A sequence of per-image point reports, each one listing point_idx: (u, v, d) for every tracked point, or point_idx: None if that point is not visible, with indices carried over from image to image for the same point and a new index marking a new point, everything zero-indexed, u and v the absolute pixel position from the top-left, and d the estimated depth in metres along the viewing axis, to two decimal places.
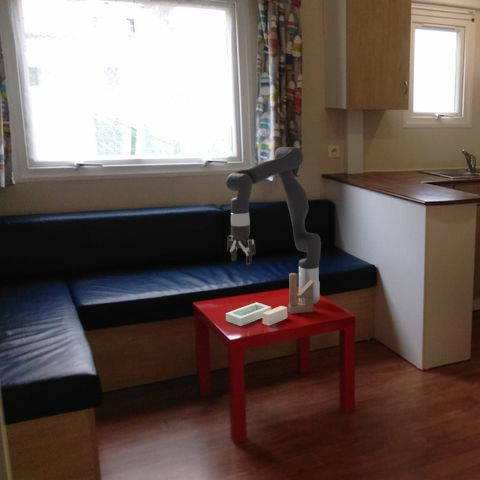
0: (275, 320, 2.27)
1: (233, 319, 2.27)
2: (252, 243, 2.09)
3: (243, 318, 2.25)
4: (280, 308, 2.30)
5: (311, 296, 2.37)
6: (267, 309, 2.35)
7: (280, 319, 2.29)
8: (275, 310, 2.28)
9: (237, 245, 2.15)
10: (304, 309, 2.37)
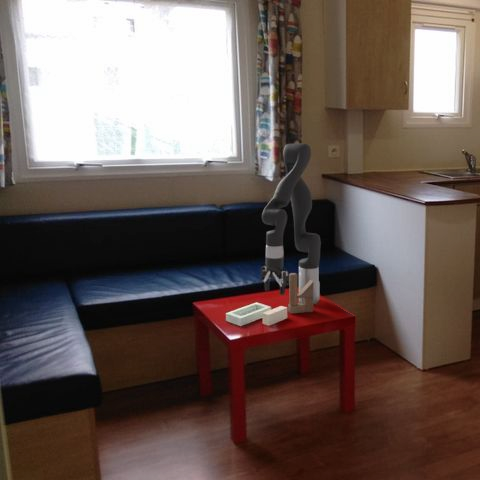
0: (275, 320, 2.27)
1: (233, 319, 2.27)
2: (286, 275, 2.19)
3: (243, 318, 2.25)
4: (280, 308, 2.30)
5: (311, 296, 2.37)
6: (267, 309, 2.35)
7: (280, 319, 2.29)
8: (275, 310, 2.28)
9: (271, 276, 2.25)
10: (304, 309, 2.37)
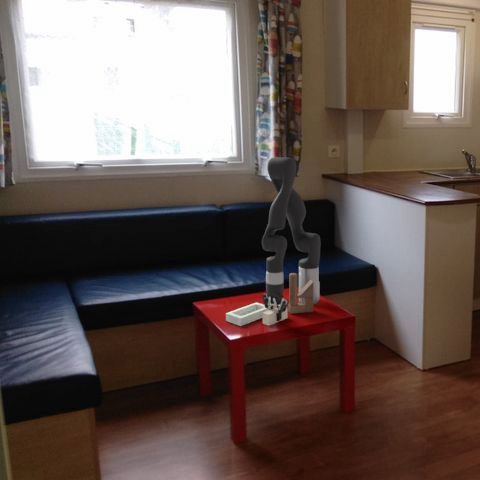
0: (275, 320, 2.27)
1: (233, 319, 2.27)
2: (285, 304, 2.23)
3: (243, 318, 2.25)
4: None
5: (311, 296, 2.37)
6: (267, 309, 2.35)
7: None
8: (275, 310, 2.28)
9: (272, 301, 2.27)
10: (304, 309, 2.37)
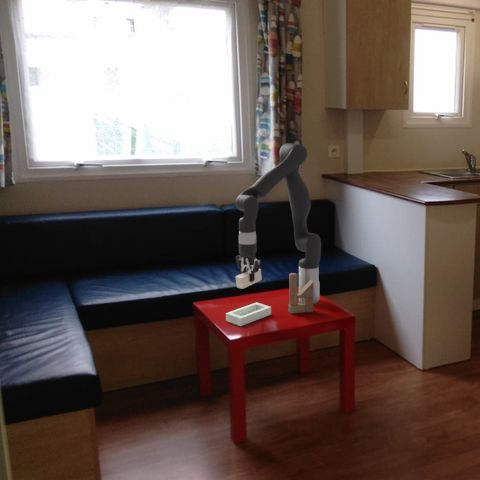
0: (249, 282, 2.28)
1: (233, 319, 2.27)
2: (258, 264, 2.23)
3: (243, 318, 2.25)
4: None
5: (311, 296, 2.37)
6: (267, 309, 2.35)
7: (254, 281, 2.30)
8: (248, 272, 2.29)
9: (245, 261, 2.27)
10: (304, 309, 2.37)
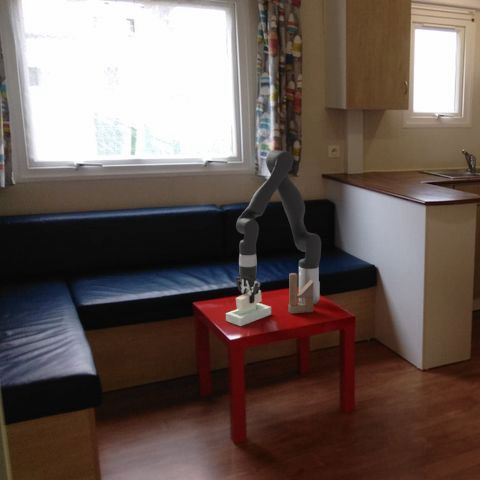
0: (249, 304, 2.30)
1: (233, 319, 2.27)
2: (258, 286, 2.26)
3: (243, 318, 2.25)
4: None
5: (311, 296, 2.37)
6: (267, 309, 2.35)
7: (254, 302, 2.32)
8: (248, 294, 2.31)
9: (246, 283, 2.30)
10: (304, 309, 2.37)
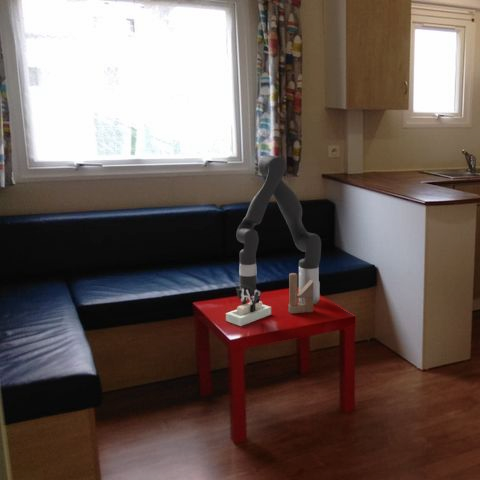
0: None
1: (233, 319, 2.27)
2: (258, 295, 2.26)
3: (243, 318, 2.25)
4: None
5: (311, 296, 2.37)
6: (267, 309, 2.35)
7: None
8: None
9: (246, 292, 2.31)
10: (304, 309, 2.37)
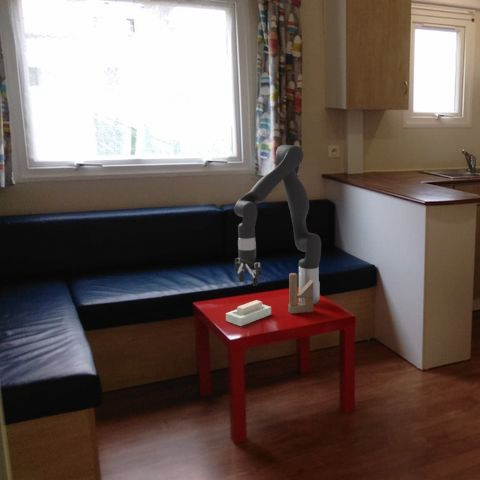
0: None
1: (233, 319, 2.27)
2: (258, 266, 2.23)
3: (243, 318, 2.25)
4: (255, 302, 2.35)
5: (311, 296, 2.37)
6: (267, 309, 2.35)
7: None
8: (250, 304, 2.32)
9: (244, 267, 2.29)
10: (304, 309, 2.37)
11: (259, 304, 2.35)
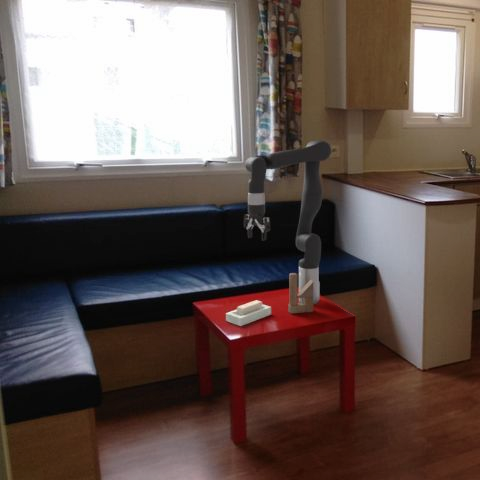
0: None
1: (233, 319, 2.27)
2: (267, 220, 2.29)
3: (243, 318, 2.25)
4: (255, 302, 2.35)
5: (311, 296, 2.37)
6: (267, 309, 2.35)
7: None
8: (250, 304, 2.32)
9: (253, 223, 2.34)
10: (304, 309, 2.37)
11: (259, 304, 2.35)
